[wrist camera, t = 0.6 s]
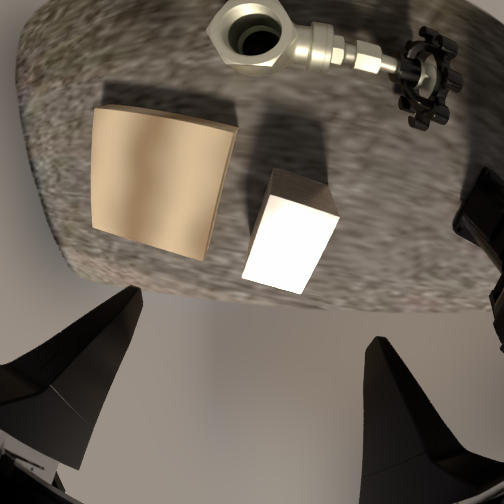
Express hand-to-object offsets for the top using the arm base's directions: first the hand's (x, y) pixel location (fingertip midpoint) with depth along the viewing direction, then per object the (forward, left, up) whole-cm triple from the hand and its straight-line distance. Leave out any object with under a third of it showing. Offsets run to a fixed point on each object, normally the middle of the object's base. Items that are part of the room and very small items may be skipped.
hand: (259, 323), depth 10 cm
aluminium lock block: (-1, +1, -12) cm, 12 cm away
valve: (0, -10, -12) cm, 16 cm away
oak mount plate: (+9, +1, -12) cm, 15 cm away
